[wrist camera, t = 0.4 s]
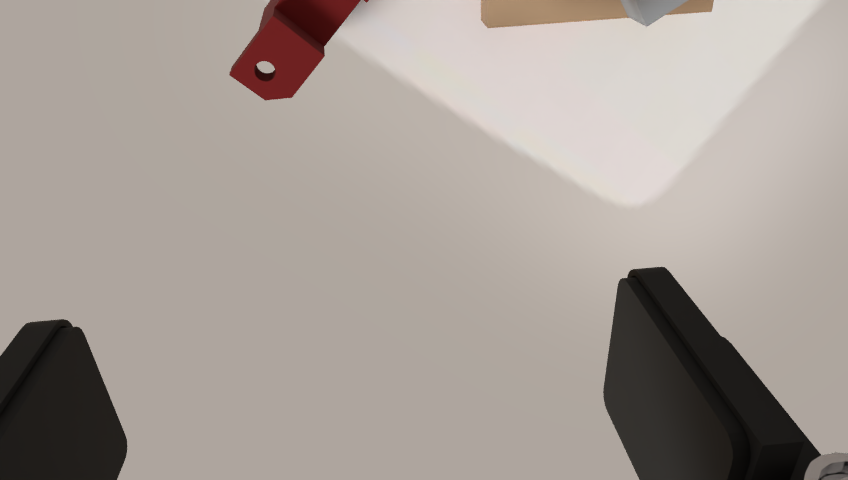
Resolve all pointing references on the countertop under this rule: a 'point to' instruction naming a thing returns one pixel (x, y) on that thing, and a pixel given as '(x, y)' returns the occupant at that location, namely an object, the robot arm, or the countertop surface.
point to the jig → (583, 10)
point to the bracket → (289, 44)
